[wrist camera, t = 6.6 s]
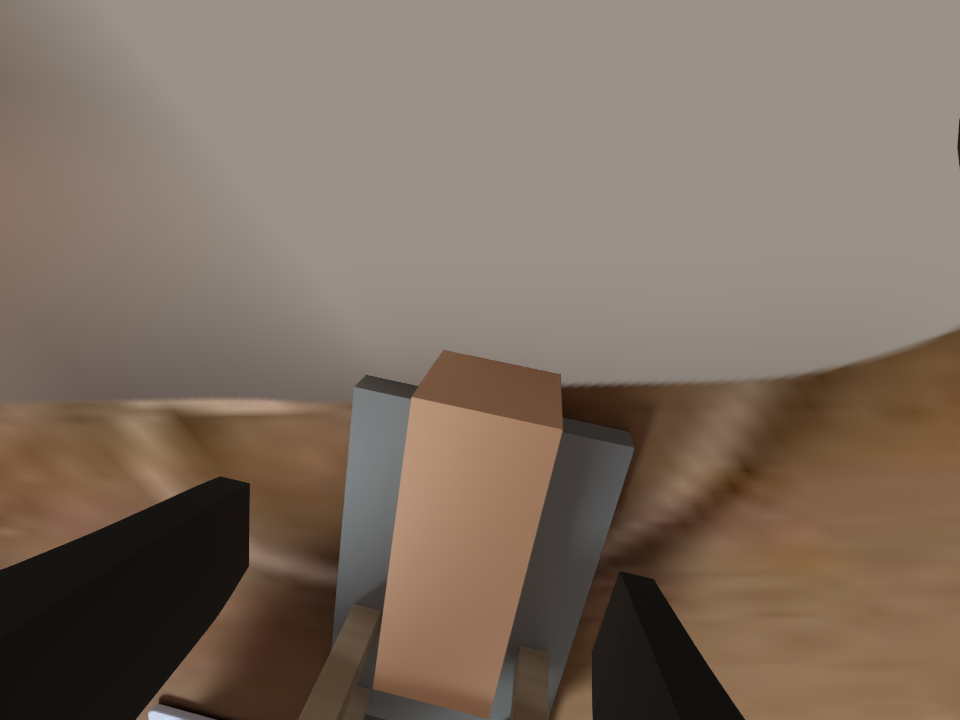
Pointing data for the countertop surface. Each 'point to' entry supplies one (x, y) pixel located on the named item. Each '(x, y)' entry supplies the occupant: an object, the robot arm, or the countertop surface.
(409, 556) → the terracotta block
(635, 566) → the countertop surface
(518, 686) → the wooden tunnel
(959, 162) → the food container
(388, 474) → the board
